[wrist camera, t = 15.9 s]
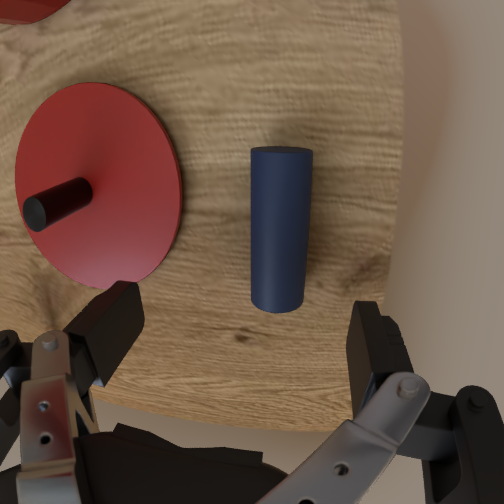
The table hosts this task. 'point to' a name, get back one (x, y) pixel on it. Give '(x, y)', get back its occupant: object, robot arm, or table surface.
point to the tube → (279, 226)
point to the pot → (28, 10)
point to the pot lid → (98, 185)
